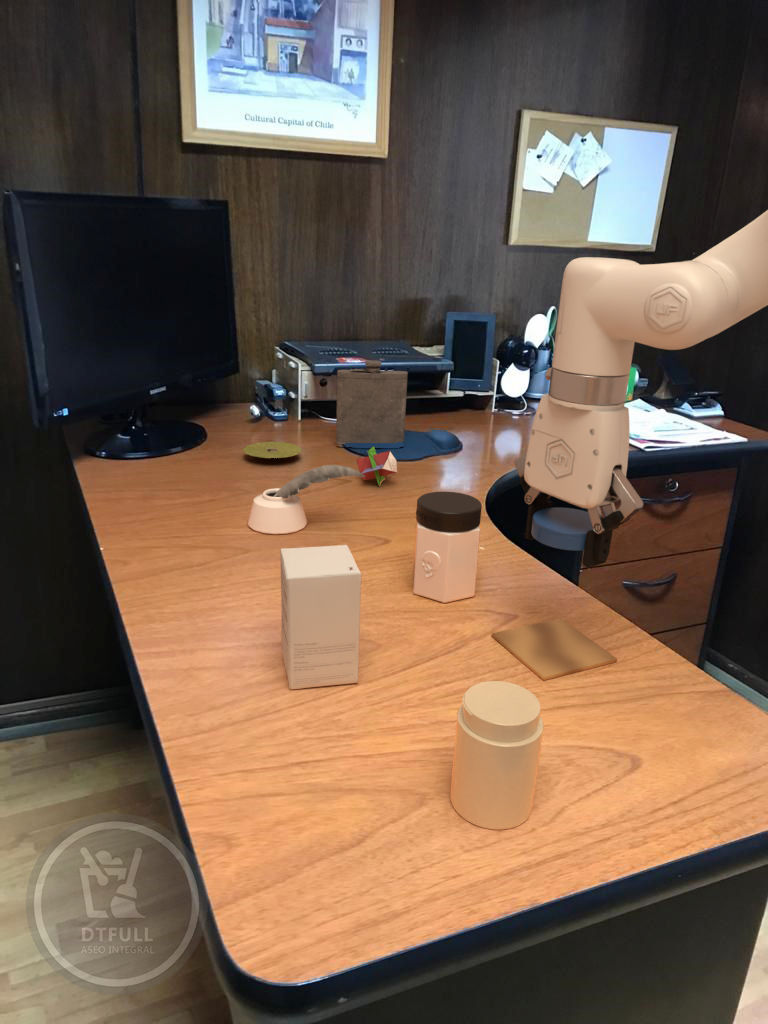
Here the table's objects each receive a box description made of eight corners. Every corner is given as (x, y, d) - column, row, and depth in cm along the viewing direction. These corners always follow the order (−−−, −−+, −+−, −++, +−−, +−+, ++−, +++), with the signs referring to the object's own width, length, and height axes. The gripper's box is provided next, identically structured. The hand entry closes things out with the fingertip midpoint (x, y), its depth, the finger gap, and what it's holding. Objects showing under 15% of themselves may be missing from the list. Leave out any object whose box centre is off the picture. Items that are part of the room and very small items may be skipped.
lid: (559, 555, 78) (561, 538, 77) (516, 528, 84) (518, 512, 84) (617, 544, 81) (620, 528, 80) (572, 519, 87) (574, 503, 87)
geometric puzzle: (342, 473, 138) (369, 441, 134) (354, 462, 144) (380, 432, 140) (372, 500, 138) (400, 469, 134) (382, 488, 144) (409, 458, 141)
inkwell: (251, 512, 124) (250, 452, 120) (363, 515, 124) (366, 456, 121) (243, 534, 115) (241, 470, 111) (364, 537, 116) (366, 474, 112)
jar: (397, 590, 100) (402, 503, 95) (427, 568, 106) (432, 486, 102) (459, 609, 95) (467, 518, 91) (487, 585, 102) (495, 500, 98)
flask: (405, 449, 162) (409, 363, 155) (336, 448, 160) (338, 361, 153) (402, 444, 165) (407, 360, 159) (335, 444, 163) (337, 358, 157)
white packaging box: (347, 647, 86) (349, 543, 81) (359, 685, 79) (363, 572, 75) (280, 653, 84) (279, 546, 80) (286, 691, 77) (286, 577, 73)
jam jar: (502, 764, 68) (513, 670, 65) (549, 815, 63) (564, 715, 59) (435, 784, 65) (443, 688, 62) (478, 840, 60) (489, 737, 56)
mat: (312, 456, 154) (312, 447, 153) (279, 470, 144) (279, 460, 144) (265, 447, 159) (265, 438, 158) (231, 460, 149) (231, 451, 148)
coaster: (560, 620, 94) (560, 618, 94) (617, 661, 85) (617, 658, 85) (491, 636, 90) (491, 633, 89) (543, 680, 81) (543, 677, 81)
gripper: (499, 375, 81) (483, 530, 88) (636, 410, 68) (606, 589, 75) (548, 370, 86) (530, 518, 92) (686, 403, 73) (654, 573, 79)
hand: (564, 549), depth 83 cm, fingers closed on lid, 7 cm apart
